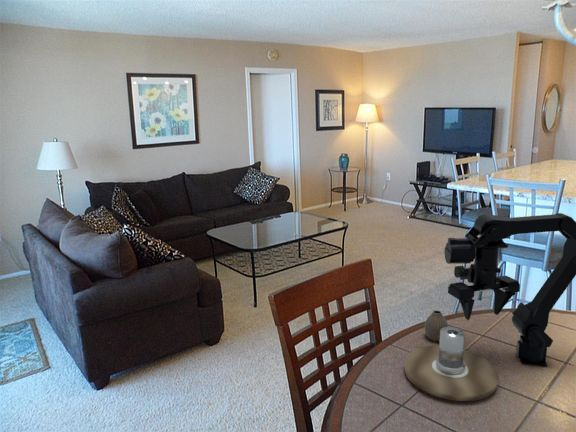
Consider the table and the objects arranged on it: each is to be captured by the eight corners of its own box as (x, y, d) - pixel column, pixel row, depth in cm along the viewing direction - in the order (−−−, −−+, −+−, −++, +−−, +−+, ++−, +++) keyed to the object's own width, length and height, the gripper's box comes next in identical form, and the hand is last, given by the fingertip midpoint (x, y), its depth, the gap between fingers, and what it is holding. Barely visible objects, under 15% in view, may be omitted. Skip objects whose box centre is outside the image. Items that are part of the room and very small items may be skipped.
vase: (444, 332, 140) (446, 307, 138) (450, 344, 133) (451, 317, 131) (422, 332, 141) (423, 306, 139) (426, 343, 134) (427, 316, 132)
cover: (463, 361, 119) (465, 327, 117) (466, 376, 112) (469, 340, 110) (434, 358, 121) (436, 324, 119) (436, 373, 114) (438, 337, 112)
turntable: (489, 357, 125) (490, 349, 124) (505, 410, 103) (506, 400, 103) (405, 348, 131) (405, 341, 130) (403, 396, 110) (403, 387, 109)
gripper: (494, 250, 128) (490, 300, 132) (437, 257, 123) (434, 309, 127) (524, 262, 118) (518, 316, 121) (462, 270, 113) (459, 327, 116)
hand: (481, 316), depth 122 cm, fingers open, 9 cm apart
